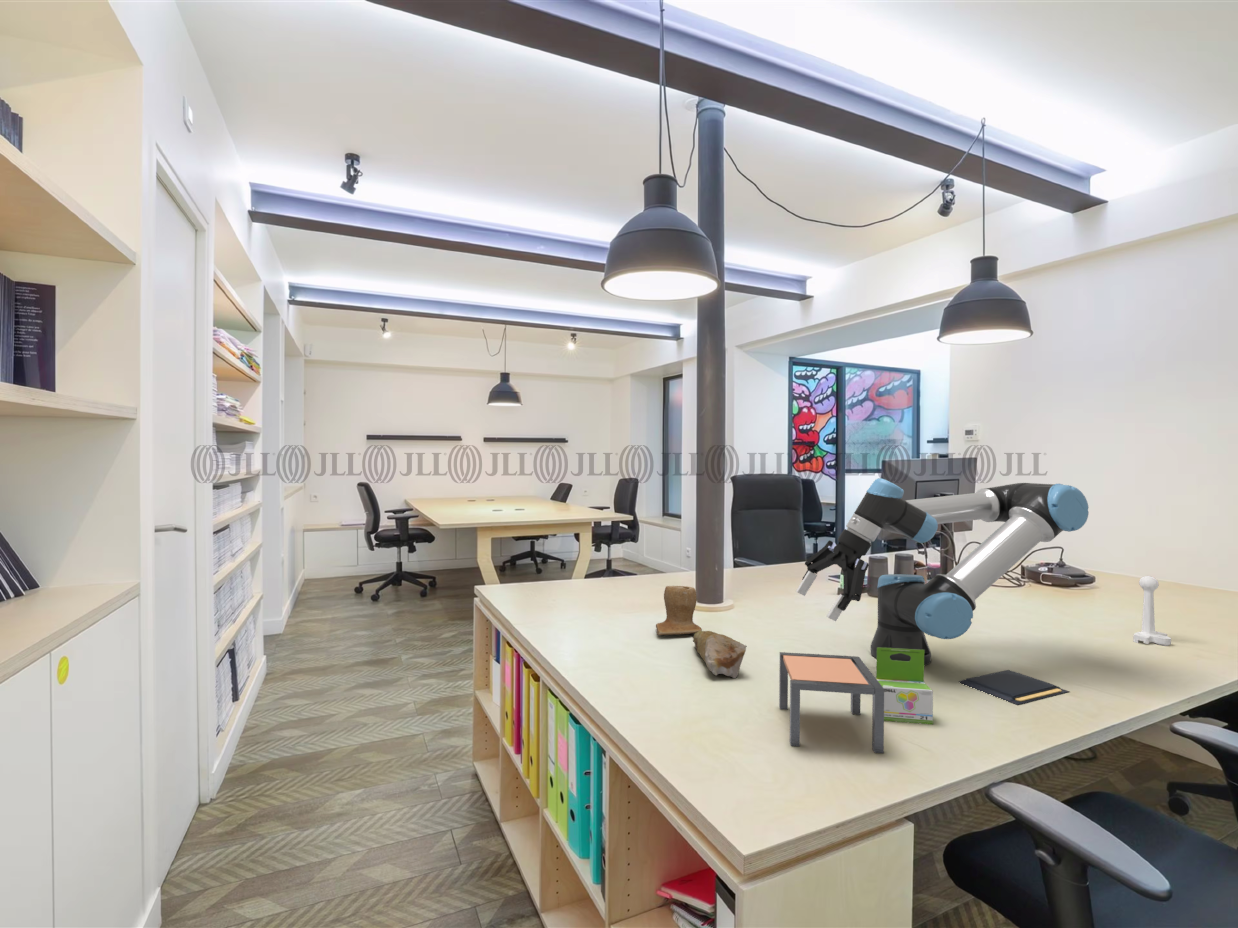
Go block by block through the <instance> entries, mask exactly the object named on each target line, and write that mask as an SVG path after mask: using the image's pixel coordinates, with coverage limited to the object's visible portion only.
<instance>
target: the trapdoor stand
mask: <svg viewBox="0 0 1238 928" xmlns="http://www.w3.org/2000/svg"><path fill="white" fill-rule="evenodd" d="M783 655H787V656H804V657H822V658H839V659H851V661H852V662H853V663H854V665H855V666H856V667H857V669H858V670H859V672H860V673H861V674H862V676H863V677H864V678H865V680H866V681H867V682H868V684H869V685H862V684H847V683H831V682H815V681H799V680H791V679H790V681H789V674H788V671H787V669H786V666H785V663H784V661H783ZM778 670H779V673H778V674H779V677H778V678H779V681H778V683H779V686H778V689H779V691H778V698H779V699H778V706H779V710H785V711H788V708H789V744H790V746H791V747H800V740H801V739H800V735H801V734H800V732H801V725H800V724H801V691H811V692H812V691H813V692H824V693H825V692H827V693H838V694H839V693H842V694H850V713H851V712H852V713H851V714H852V715H854V714H856V715H855V716H860V715H861V695H872V705H871V706H872V713H871V714H872V716H871V717H872V718H871V719H872V722H871V723H872V726H871V727H872V729H871V730H872V731H871V735H872V736H871V738H872V739H871V749H872V751H873V752H874V753H876V754H884V747H885V746H884V745H885V743H884V742H885V734H884V733H885V721H884V688H883V687H882V686H881V684H880V683H879V682H878V681H877V679H876V676H875V675H874V674H873V672H872V671H871V670H870V669H869V668H868V667H867V665H866V664H865V663H864V661H863V660H862V659H861V658H860V657H859V656H854V655H853V656H852V655H837V654H836V655H835V654H819V653H818V654H817V653H815V654H814V653H801V652H785V651H784V652H781V651H779V669H778ZM789 683H790V684H789ZM789 686H790V687H789ZM788 689H789V690H788ZM789 693H790V694H789ZM788 698H789V699H788ZM788 701H789V702H788ZM788 703H789V704H788ZM788 705H789V707H788Z"/></svg>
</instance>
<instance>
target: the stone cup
mask: <svg viewBox="0 0 1238 928" xmlns="http://www.w3.org/2000/svg"><path fill="white" fill-rule="evenodd" d="M663 600H664V607H665V614H666V618H665V620H664V621H663V622H657V623H656V624H655V628H656V634H657V636H679V635H680V636H681V635H689V634H690V635H691V634H695V633H697V632H698V631H703V630H702V629H703V628H701V627H700V626H699V625H697V624H696V623H694V621H693V618H694V613H695V609H696V606H697V590H696V588H695V587H693V586H688V585H686V586H685V585H666V586H665V588H664V591H663Z"/></svg>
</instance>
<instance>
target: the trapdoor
mask: <svg viewBox="0 0 1238 928" xmlns="http://www.w3.org/2000/svg"><path fill="white" fill-rule="evenodd" d="M783 661H784V663H785V666H786V669H787V671H788V677H789V679H790V680H799V681H815V682H831V683H847V684H862V685H869V684H868V682H867V681H866V680H865V678H864V677H863V676H862V674H861V673H860V672H859V670H858V669H857V667H856V666H855V665H854V663H853V662H852V661H851V659H839V658H822V657H804V656H787V655H783Z"/></svg>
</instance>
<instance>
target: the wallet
mask: <svg viewBox="0 0 1238 928" xmlns="http://www.w3.org/2000/svg"><path fill="white" fill-rule="evenodd" d="M959 682H960V683H961V685H962V684H964V685H963V686H965V685H967V686H969V687H968V688H970V687H972V688H971V689H973V688H975V689H977V690H976V691H978V690H980V691H979V692H981V691H983V692H985V693H984V694H986V693H987V695H989V694H991V695H993V696H992V697H994V696H995V698H997V697H998V698H997V699H999V698H1001V699H1000V700H1002V699H1003V700H1002V701H1004V700H1006V701H1005V702H1007V701H1008V702H1007V703H1010V704H1013V705H1015V706H1021V705H1026V704H1029V703H1034V702H1036V701H1040V700H1045V699H1049V698H1052V697H1053V698H1054V697H1057V696H1060V695H1065V694H1068V693H1071V691H1070V690H1067V689H1063V688H1061V687H1060V686H1057V685H1056V684H1053V683H1050V682H1047V681H1044V680H1041V679H1038V678H1035V677H1032V676H1030V675H1029V676H1028V675H1026V674H1023V673H1020V672H1017V671H1012V670H1010V669H1005V670H1001V671H997V672H996V671H995V672H992V673H987V674H982V675H977V676H972V677H968V678H966V679H961V680H959V681H958V683H959ZM960 683H959V684H960ZM967 686H966V687H967ZM975 689H974V690H975ZM983 692H982V693H983ZM991 695H990V696H991Z"/></svg>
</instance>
